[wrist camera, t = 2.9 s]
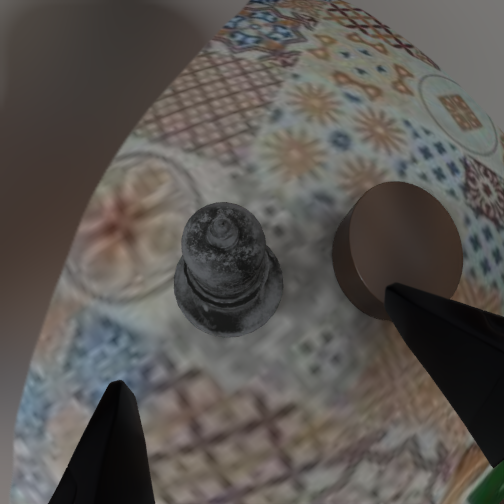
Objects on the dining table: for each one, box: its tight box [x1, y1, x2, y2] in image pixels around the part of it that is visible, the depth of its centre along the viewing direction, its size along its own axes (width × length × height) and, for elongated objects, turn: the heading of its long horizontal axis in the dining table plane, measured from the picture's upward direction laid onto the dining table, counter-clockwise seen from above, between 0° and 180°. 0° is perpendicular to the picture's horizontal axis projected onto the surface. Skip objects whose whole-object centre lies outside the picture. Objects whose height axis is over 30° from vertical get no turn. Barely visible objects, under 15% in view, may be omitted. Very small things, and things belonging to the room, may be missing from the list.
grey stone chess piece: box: [174, 202, 283, 337], centre depth 14 cm, size 6×6×12 cm
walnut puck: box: [332, 182, 463, 321], centre depth 20 cm, size 9×9×4 cm
